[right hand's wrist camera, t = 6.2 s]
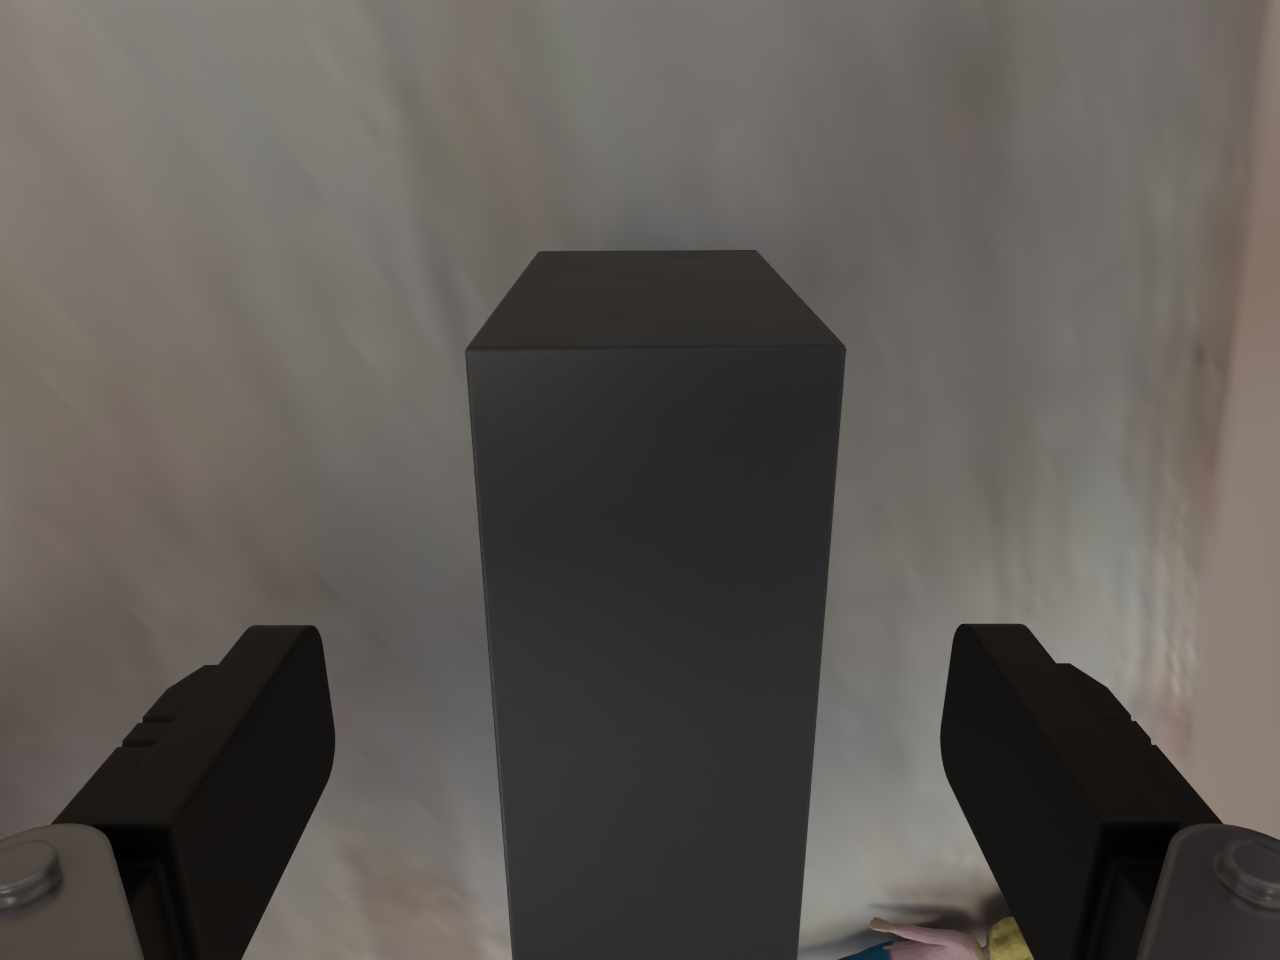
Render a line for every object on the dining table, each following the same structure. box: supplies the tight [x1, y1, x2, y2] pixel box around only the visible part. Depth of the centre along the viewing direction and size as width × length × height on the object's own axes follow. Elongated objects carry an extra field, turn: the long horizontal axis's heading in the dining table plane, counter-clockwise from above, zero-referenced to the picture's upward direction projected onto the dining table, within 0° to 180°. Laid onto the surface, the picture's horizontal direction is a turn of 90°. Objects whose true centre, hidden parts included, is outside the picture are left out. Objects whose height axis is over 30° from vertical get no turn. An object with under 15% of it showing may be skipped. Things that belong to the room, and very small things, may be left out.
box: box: [465, 250, 846, 960], centre depth 24 cm, size 25×6×11 cm, turn 0°
